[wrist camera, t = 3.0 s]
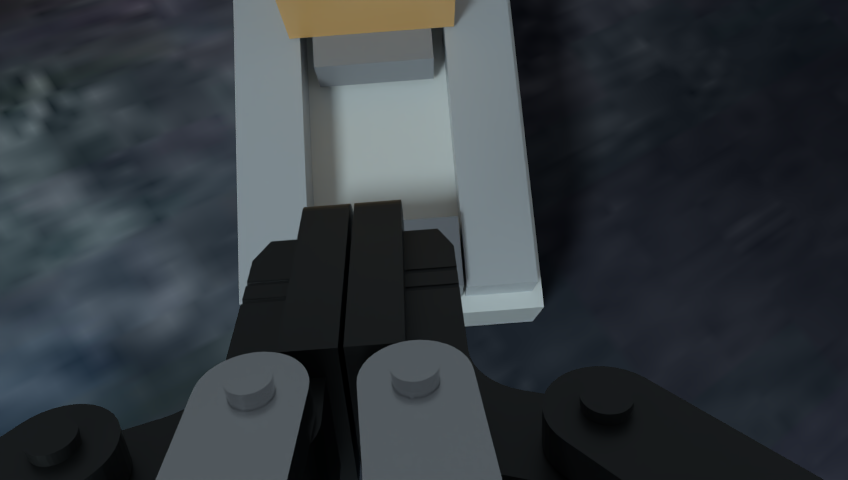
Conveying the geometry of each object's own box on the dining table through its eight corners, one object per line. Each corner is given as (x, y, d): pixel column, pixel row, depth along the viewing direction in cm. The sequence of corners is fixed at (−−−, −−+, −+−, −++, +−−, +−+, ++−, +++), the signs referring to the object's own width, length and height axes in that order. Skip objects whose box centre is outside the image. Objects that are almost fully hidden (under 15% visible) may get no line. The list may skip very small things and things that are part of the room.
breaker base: (532, 321, 27) (552, 296, 22) (262, 341, 27) (226, 321, 22) (478, -185, 32) (485, -292, 27) (249, -168, 32) (217, -272, 27)
